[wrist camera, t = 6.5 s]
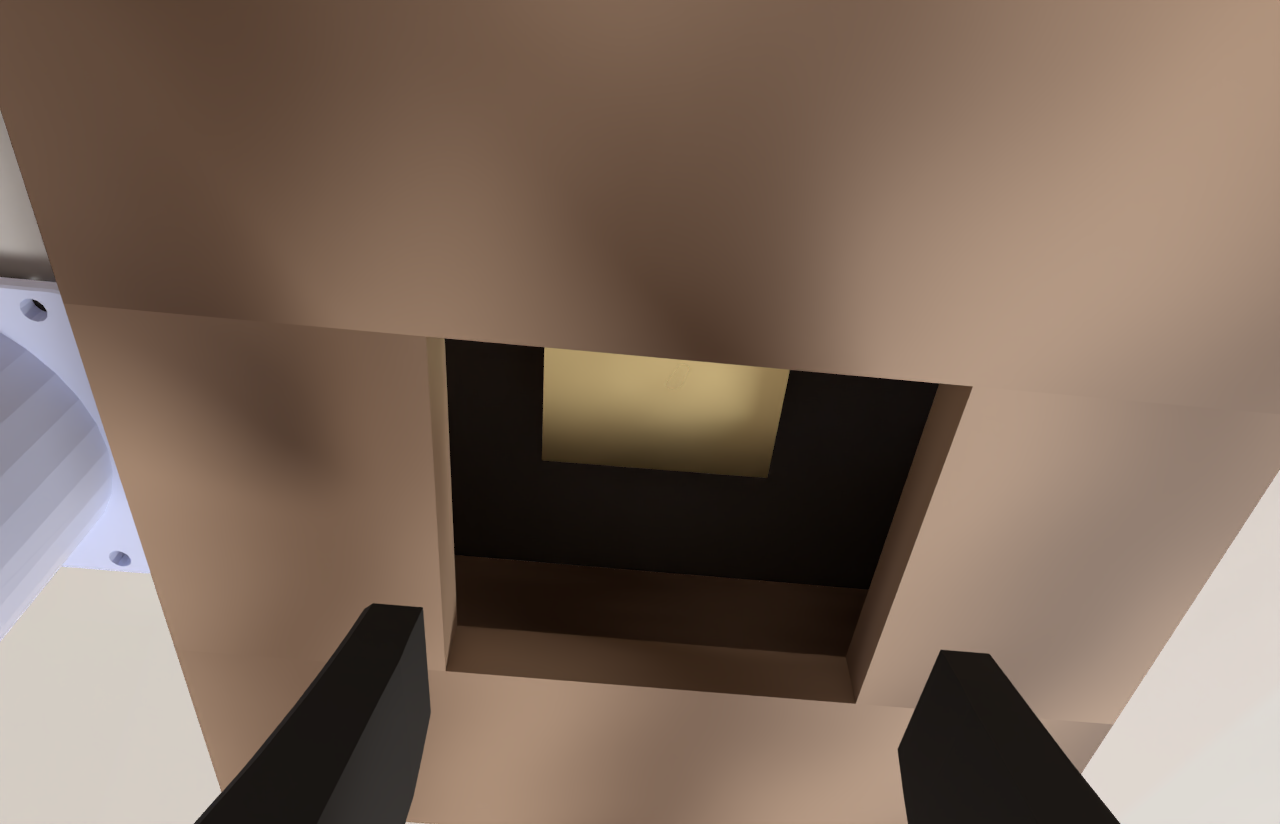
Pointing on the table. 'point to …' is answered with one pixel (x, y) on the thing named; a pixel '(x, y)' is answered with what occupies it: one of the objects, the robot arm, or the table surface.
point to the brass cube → (660, 412)
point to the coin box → (666, 349)
